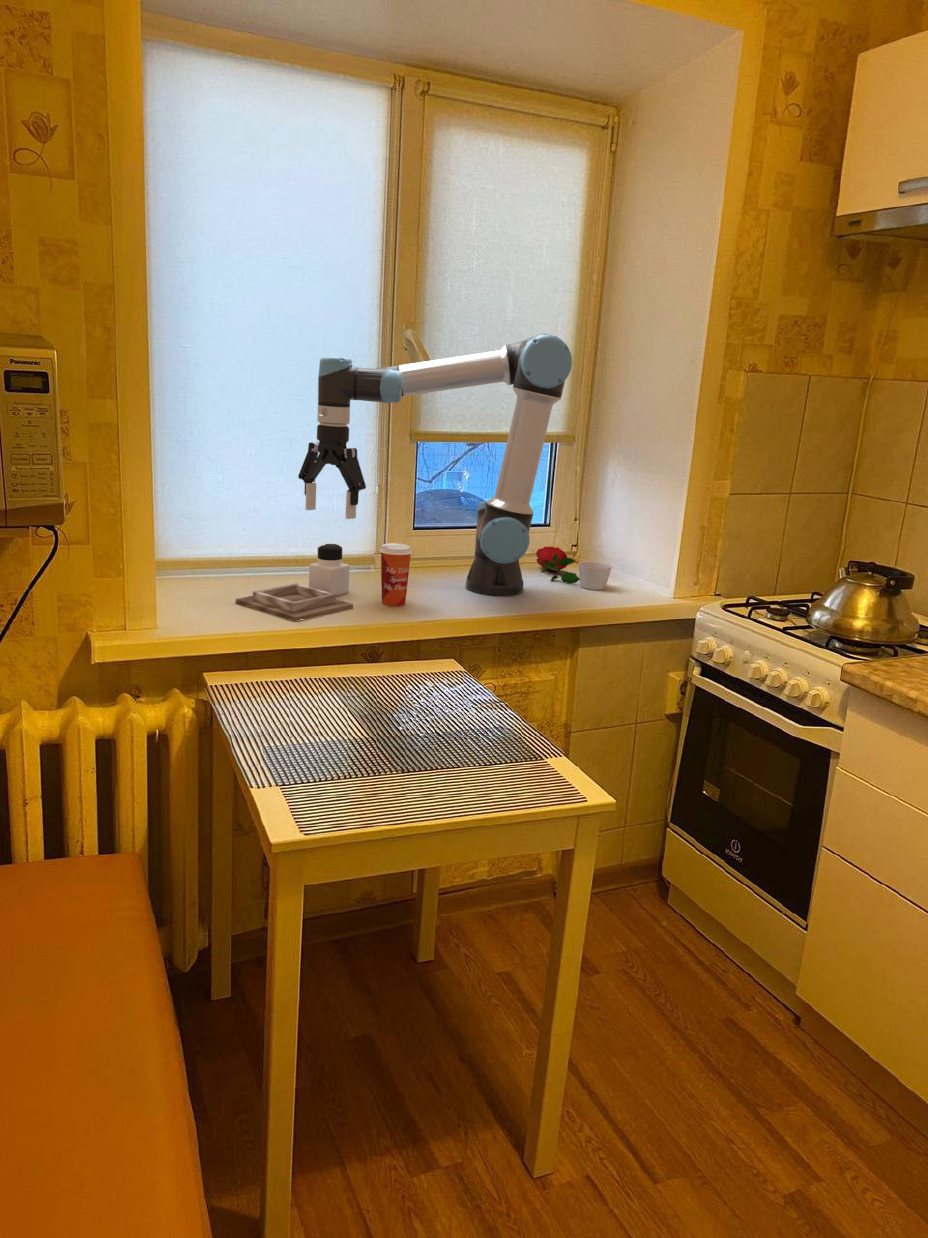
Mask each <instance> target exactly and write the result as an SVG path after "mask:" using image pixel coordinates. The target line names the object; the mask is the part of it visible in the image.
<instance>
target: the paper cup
mask: <svg viewBox="0 0 928 1238" xmlns="http://www.w3.org/2000/svg"><path fill="white" fill-rule="evenodd" d="M379 552H380V582H381V583H380V584H381V602H382V605H385V606H388V607H390V606H391V607H400V606H405V605H406V599H407V592H408V591H407V589H408V584H409V583H408V581H409V573H410V564H411V563H410V562H411V556H412V554H413V551H412V548H411V546H410V545H408V544H403V543H394V542H393V543H391V542H390V543H383V544H382V545H381V547H380V549H379Z"/></svg>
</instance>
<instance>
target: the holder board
mask: <svg viewBox="0 0 928 1238" xmlns="http://www.w3.org/2000/svg"><path fill="white" fill-rule="evenodd" d="M235 604H238V605H240V606H244V607H246V608H250V609H253V610H257V611H260V612H262V613H263V612H264V613H266V614H270V615H272V616H277V617H280V618H283V619H285V620H289V619H291V620H290V621H292V620H294V621H293V622H295V621H296V622H298V621H297V620H300V619H305V620H308V619H312V618H317V617H321V616H324V615H330V614H333V613H338V612H342V611H346V610H350V609H353V608H354V604H353V603H351V602H347V601H344V600H340V599H337V596H336V594H333V593H329V592H326V591H322V590H319V589H315V588H311V587H309V585H308V586H307V585H305V584H300V583H296V582H295V583H291V584H286V585H281V586H275V587H272V588H271V587H270V588H265V589H260V590H256V591H253V592H252V595H250V596H249V595H247V596H243V597H238V598H235ZM300 621H301V620H300Z"/></svg>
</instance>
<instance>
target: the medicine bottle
mask: <svg viewBox="0 0 928 1238" xmlns="http://www.w3.org/2000/svg"><path fill="white" fill-rule="evenodd" d="M316 552H317V554H316V556H317V557H316V560H317V562H313V563H310V564H309V569H308V587H311V588H315V589H319V590H322V591H326V592H329V593H333V594H336V597H337V596H341V595H345V594H347V593H349V587H350V565H349V564H347V563H343V547H342V546H341V545H339V544H337V543H321V544H320V545H318V546H317V551H316Z"/></svg>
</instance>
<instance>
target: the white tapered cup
mask: <svg viewBox="0 0 928 1238" xmlns="http://www.w3.org/2000/svg"><path fill="white" fill-rule="evenodd" d="M612 566H613V565H611V564H609V563H606V562H602V561H594V560H582V561H580V562H578V573H579V575H578V577H579V579H580V580H579V585H580V587H581V588H583V589H586V590H591V591H601V590H605V589H606V587H607V584H608V580H609V578H610V574H611V571H612V568H613V567H612Z"/></svg>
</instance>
